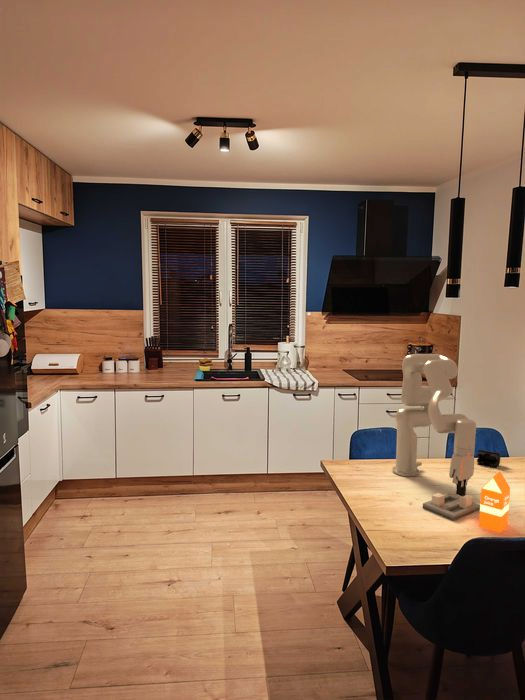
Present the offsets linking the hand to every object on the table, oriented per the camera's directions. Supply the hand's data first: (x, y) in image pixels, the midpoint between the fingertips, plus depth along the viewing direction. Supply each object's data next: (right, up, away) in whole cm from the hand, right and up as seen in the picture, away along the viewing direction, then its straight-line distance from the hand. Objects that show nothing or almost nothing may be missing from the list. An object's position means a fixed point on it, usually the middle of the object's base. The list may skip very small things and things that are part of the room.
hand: (460, 494), depth 202 cm
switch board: (-3, -6, +2) cm, 7 cm away
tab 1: (-8, -5, +2) cm, 10 cm away
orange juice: (+7, -8, -12) cm, 16 cm away
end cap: (+36, -1, +56) cm, 66 cm away
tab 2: (+2, -5, +1) cm, 6 cm away
